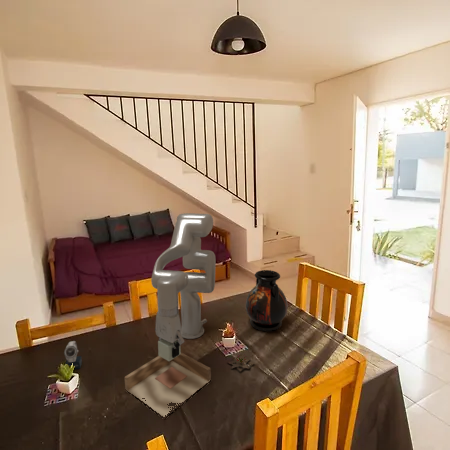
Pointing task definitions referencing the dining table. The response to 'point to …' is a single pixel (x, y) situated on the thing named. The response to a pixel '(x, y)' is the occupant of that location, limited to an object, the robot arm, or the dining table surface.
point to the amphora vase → (266, 302)
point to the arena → (167, 381)
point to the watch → (72, 355)
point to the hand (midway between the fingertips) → (169, 352)
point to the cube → (166, 349)
